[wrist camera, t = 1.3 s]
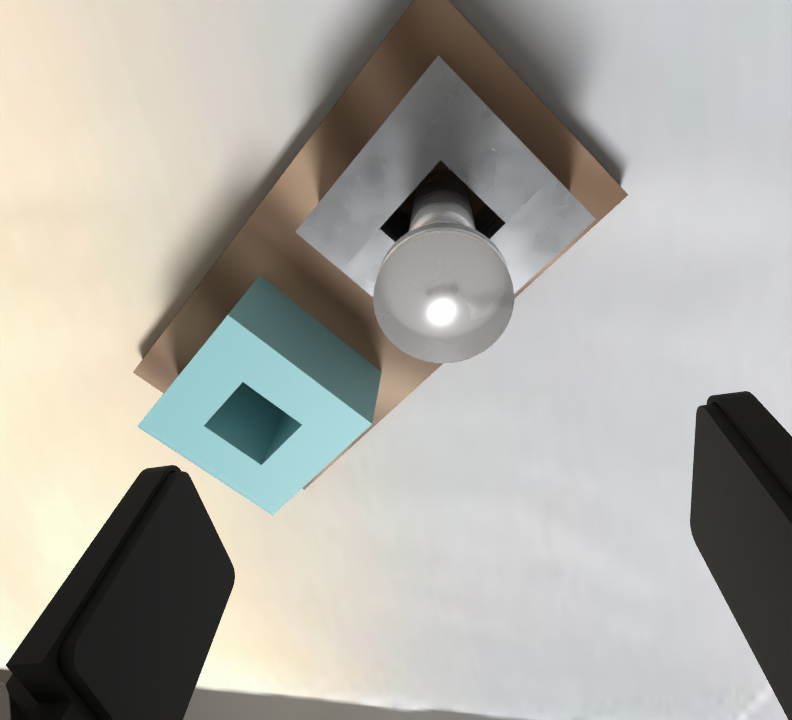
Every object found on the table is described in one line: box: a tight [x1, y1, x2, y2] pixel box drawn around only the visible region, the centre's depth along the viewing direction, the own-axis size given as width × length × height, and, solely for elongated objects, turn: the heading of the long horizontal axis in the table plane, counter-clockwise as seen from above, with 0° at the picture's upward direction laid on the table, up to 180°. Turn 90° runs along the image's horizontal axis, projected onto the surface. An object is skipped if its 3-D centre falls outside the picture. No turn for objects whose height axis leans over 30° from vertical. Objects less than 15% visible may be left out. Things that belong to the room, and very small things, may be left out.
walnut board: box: [133, 0, 628, 490], centre depth 36 cm, size 30×15×2 cm, turn 138°
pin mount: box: [296, 55, 596, 297], centre depth 29 cm, size 10×10×6 cm
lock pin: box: [373, 170, 514, 363], centre depth 25 cm, size 5×5×15 cm
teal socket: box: [137, 276, 382, 515], centre depth 35 cm, size 10×10×6 cm
